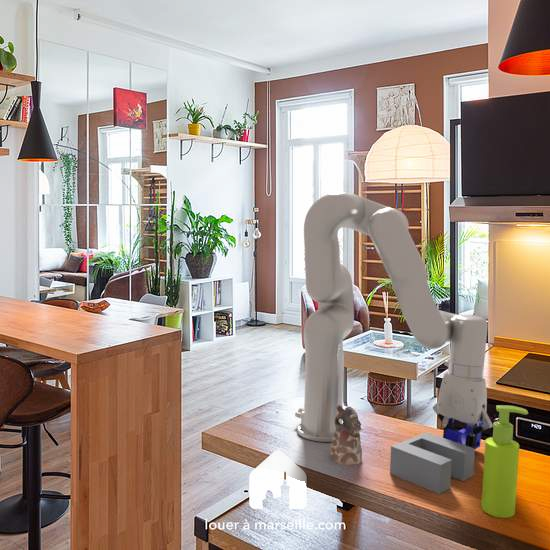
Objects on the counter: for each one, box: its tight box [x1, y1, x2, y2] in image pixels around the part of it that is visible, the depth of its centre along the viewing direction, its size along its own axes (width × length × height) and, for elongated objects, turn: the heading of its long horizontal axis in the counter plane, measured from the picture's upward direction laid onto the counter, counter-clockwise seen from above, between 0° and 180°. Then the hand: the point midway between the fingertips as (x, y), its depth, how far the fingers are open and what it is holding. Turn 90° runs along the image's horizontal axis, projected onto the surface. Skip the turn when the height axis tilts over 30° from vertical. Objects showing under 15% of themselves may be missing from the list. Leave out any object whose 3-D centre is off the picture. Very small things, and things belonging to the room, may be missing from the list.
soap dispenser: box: [480, 404, 529, 519], centre depth 108 cm, size 6×7×20 cm
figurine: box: [329, 405, 363, 466], centre depth 131 cm, size 7×7×12 cm
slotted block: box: [389, 431, 476, 495], centre depth 124 cm, size 12×13×6 cm
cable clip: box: [445, 421, 483, 450], centre depth 134 cm, size 12×4×6 cm, turn 136°
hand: (458, 446), depth 134 cm, fingers closed on cable clip, 4 cm apart
